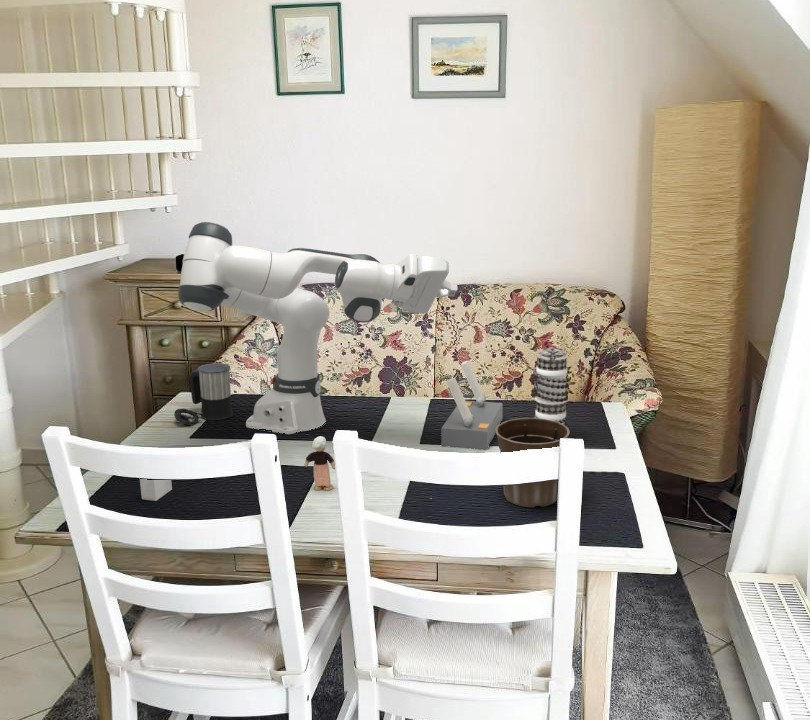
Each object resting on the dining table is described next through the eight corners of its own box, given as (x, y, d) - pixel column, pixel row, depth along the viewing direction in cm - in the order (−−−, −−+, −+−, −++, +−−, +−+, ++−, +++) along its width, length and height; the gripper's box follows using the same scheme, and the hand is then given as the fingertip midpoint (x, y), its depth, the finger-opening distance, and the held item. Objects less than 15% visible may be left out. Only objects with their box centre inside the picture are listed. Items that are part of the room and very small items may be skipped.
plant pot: (552, 518, 187) (554, 447, 182) (483, 504, 194) (483, 435, 190) (577, 490, 200) (579, 424, 196) (511, 478, 208) (512, 413, 204)
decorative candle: (532, 435, 236) (534, 345, 229) (567, 436, 234) (570, 345, 228) (531, 447, 227) (533, 354, 221) (567, 448, 226) (570, 355, 219)
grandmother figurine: (338, 484, 206) (336, 433, 203) (337, 491, 203) (334, 439, 199) (306, 484, 206) (303, 434, 203) (303, 491, 203) (301, 439, 199)
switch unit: (441, 446, 229) (441, 427, 228) (460, 416, 251) (460, 399, 250) (486, 449, 226) (486, 430, 224) (502, 419, 248) (502, 402, 247)
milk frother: (239, 411, 260) (235, 363, 256) (215, 429, 245) (210, 378, 241) (195, 408, 263) (191, 361, 259) (169, 426, 249) (164, 376, 245)
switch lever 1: (465, 426, 227) (445, 383, 226) (468, 421, 231) (449, 378, 229) (472, 424, 227) (452, 380, 225) (475, 419, 230) (455, 376, 229)
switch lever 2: (477, 406, 243) (459, 365, 242) (480, 402, 247) (462, 362, 245) (484, 404, 242) (466, 363, 241) (487, 400, 246) (469, 359, 245)
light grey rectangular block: (172, 489, 206) (168, 449, 203) (155, 501, 199) (151, 459, 197) (158, 487, 207) (154, 447, 204) (141, 499, 200) (137, 458, 198)
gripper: (392, 315, 223) (444, 322, 226) (412, 271, 206) (468, 278, 209) (392, 295, 226) (443, 302, 229) (412, 249, 209) (467, 257, 212)
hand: (455, 290), depth 219 cm, fingers closed
